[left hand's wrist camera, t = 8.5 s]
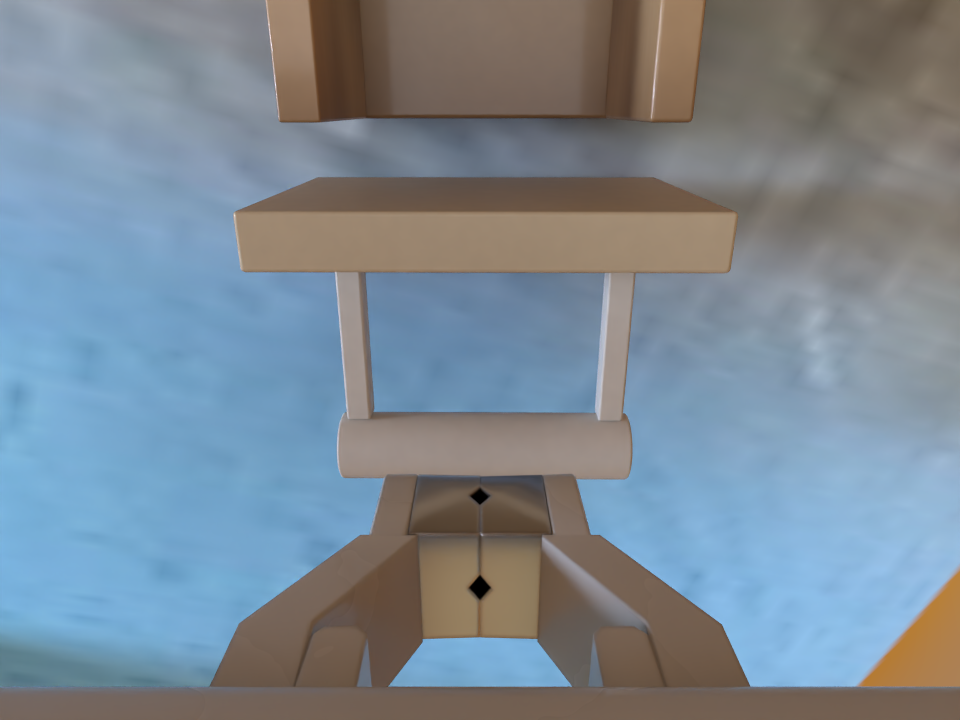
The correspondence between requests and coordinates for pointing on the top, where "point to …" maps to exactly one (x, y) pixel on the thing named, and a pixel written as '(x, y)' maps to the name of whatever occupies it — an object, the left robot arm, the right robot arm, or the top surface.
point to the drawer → (485, 197)
